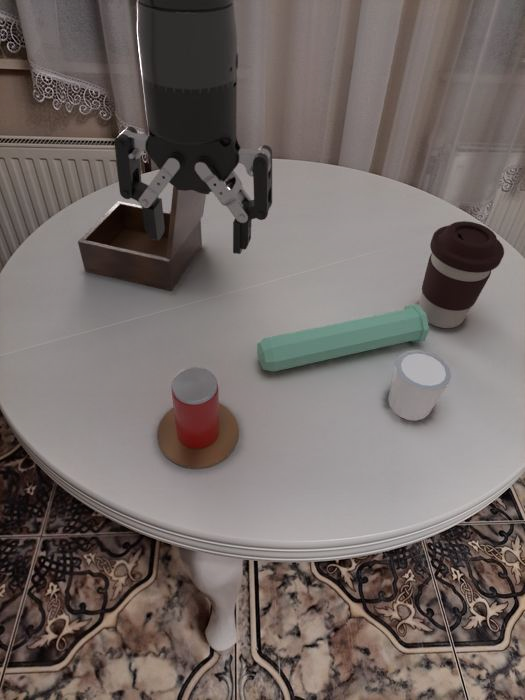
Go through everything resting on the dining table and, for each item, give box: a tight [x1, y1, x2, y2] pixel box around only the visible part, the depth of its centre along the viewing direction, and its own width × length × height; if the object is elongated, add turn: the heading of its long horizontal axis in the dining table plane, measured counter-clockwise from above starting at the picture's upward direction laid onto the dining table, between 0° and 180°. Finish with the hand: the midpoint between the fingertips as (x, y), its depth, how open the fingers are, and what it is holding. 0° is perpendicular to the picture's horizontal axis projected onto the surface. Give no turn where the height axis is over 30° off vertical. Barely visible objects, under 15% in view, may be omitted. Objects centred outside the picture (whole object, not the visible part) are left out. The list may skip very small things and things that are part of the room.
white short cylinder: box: [387, 349, 452, 422], centre depth 66 cm, size 7×7×7 cm
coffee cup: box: [418, 220, 505, 329], centre depth 76 cm, size 10×10×15 cm
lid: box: [166, 185, 207, 260], centre depth 76 cm, size 16×14×5 cm
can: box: [171, 366, 220, 449], centre depth 60 cm, size 5×5×9 cm
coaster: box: [156, 403, 240, 470], centre depth 63 cm, size 10×10×1 cm
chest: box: [77, 200, 203, 292], centre depth 86 cm, size 16×14×6 cm
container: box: [256, 303, 430, 372], centre depth 73 cm, size 6×6×25 cm
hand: (198, 242), depth 52 cm, fingers open, 8 cm apart
